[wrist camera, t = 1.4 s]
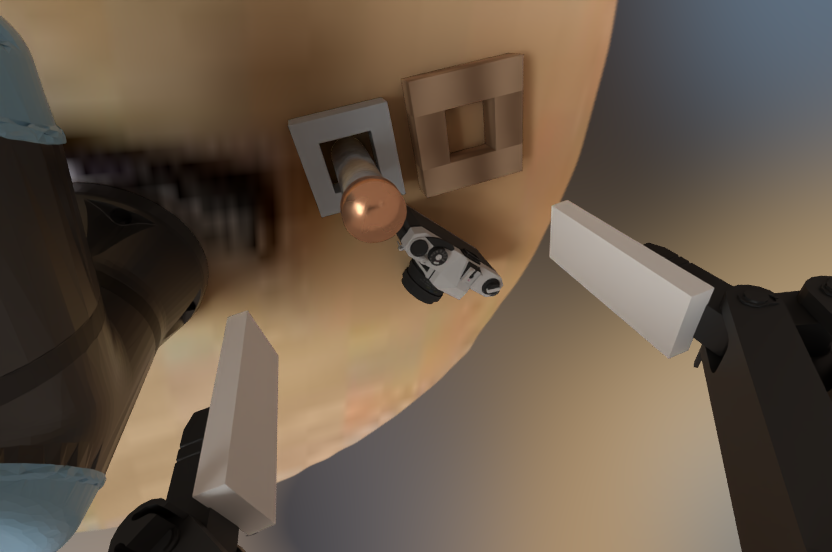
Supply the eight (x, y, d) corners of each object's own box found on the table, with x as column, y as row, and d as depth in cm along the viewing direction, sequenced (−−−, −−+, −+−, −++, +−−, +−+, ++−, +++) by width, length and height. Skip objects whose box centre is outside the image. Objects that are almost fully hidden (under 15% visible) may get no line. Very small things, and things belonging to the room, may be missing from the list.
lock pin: (334, 181, 33) (352, 250, 23) (320, 138, 31) (333, 192, 20) (375, 170, 34) (411, 232, 23) (364, 127, 31) (399, 174, 21)
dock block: (420, 188, 36) (427, 197, 34) (401, 78, 30) (408, 82, 28) (510, 163, 37) (522, 170, 35) (508, 52, 31) (523, 54, 29)
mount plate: (320, 206, 34) (321, 217, 32) (288, 119, 29) (288, 126, 27) (399, 184, 35) (405, 193, 33) (380, 97, 30) (387, 101, 28)
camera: (358, 254, 38) (378, 308, 32) (397, 194, 36) (428, 239, 29) (444, 288, 46) (475, 338, 39) (481, 241, 43) (522, 285, 36)
